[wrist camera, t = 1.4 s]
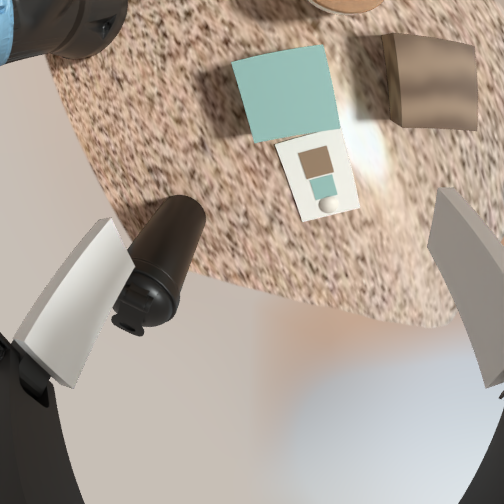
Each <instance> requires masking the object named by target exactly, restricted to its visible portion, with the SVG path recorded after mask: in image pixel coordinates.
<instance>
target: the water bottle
mask: <svg viewBox="0 0 504 504" xmlns="http://www.w3.org/2000/svg"><path fill="white" fill-rule="evenodd" d="M205 223H206V215H205V212H204V210H203V208H202V206H201V205H200V204H199V203H198V202H197V201H196V200H194V199H192V198H190V197H188V196H184V195H175V196H171V197H169V198H168V199H166V200H165V201H164V203H163V204H162V205H161V206H160V208H159V209H158V210H157V211H156V213H155V214H154V215H153V216H152V218H151V219H150V220H149V221H148V223H147V224H146V225H145V227H144V228H143V229H142V231H141V232H140V233H139V235H138V236H137V237H136V239H135V240H134V241H133V243H132V244H131V245H130V247H129V248H128V249H127V251H128V253H129V255H130V257H131V259H132V261H133V263H134V265H135V267H134V269H133V271H132V273H131V274H130V276H129V278H128V280H127V281H126V283H125V285H124V287H123V289H122V291H121V292H120V294H119V296H118V298H117V300H116V302H115V303H114V305H113V307H112V308H113V309H114V311H115V312H116V313H117V314H116V315H113V316H112V319H111V320H112V323H113V324H114V325H116V326H117V327H119V328H121V329H123V330H125V331H127V332H129V333H131V334H133V335H136V336H143V334H144V329H143V327H154V326H158V325H161V324H163V323H165V322H167V321H169V320H171V319H172V318H173V317H174V315H175V313H176V311H177V308H178V305H179V301H180V291H181V289H182V286H183V283H184V280H185V277H186V274H187V272H188V269H189V266H190V263H191V261H192V258H193V255H194V253H195V250H196V247H197V244H198V242H199V239H200V237H201V234H202V231H203V229H204V226H205ZM142 326H143V327H142Z"/></svg>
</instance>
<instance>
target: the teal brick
mask: <svg viewBox="0 0 504 504" xmlns="http://www.w3.org/2000/svg"><path fill="white" fill-rule="evenodd" d="M231 63H232V67H233V70H234V73H235V77H236V80H237V84H238V87H239V90H240V94H241V97H242V101H243V104H244V108H245V111H246V114H247V118H248V122H249V125H250V129H251V132H252V136H253V139H254V143H258V142H263V141H268V140H273V139H278V138H283V137H289V136H295V135H301V134H307V133H313V132H320V131H327V130H334V129H340V123H339V117H338V111H337V106H336V100H335V95H334V90H333V85H332V81H331V76H330V72H329V67H328V63H327V59H326V54H325V50H324V46H323V45H315V46H308V47H301V48H295V49H289V50H283V51H278V52H273V53H268V54H263V55H258V56H254V57H250V58H246V59H242V60H238V61H234V62H231Z"/></svg>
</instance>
